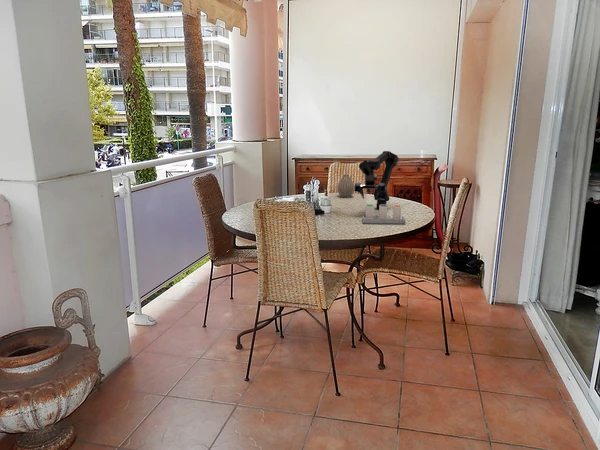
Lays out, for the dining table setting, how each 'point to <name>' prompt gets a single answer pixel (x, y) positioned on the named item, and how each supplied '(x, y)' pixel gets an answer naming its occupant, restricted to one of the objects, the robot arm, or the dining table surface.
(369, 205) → the key
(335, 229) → the dining table surface
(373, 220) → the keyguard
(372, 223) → the key mat
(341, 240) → the dining table surface
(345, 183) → the vase
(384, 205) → the key
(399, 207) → the key
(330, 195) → the dining table surface
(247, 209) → the dining table surface
